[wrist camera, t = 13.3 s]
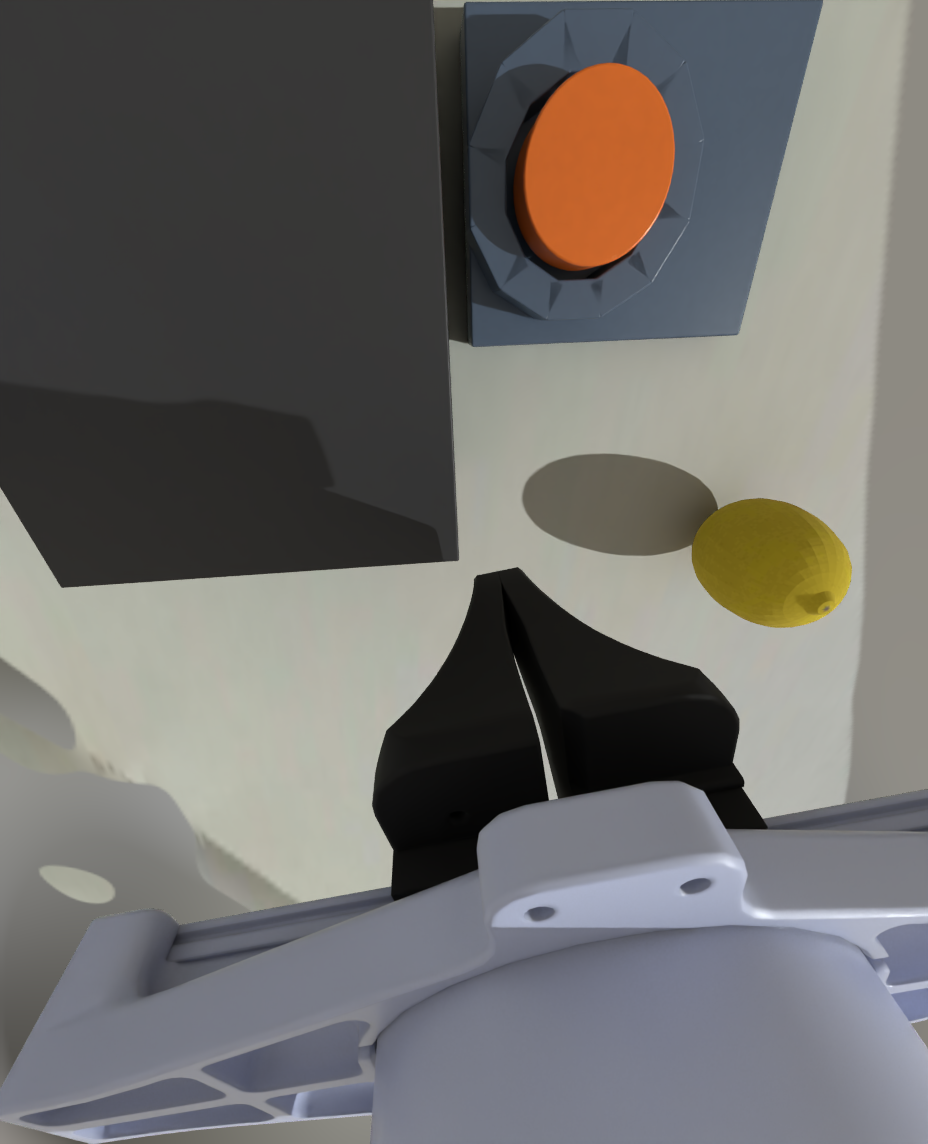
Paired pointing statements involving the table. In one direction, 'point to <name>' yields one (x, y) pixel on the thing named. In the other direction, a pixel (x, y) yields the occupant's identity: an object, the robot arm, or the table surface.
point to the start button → (594, 168)
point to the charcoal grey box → (223, 287)
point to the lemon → (771, 563)
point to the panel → (700, 174)
